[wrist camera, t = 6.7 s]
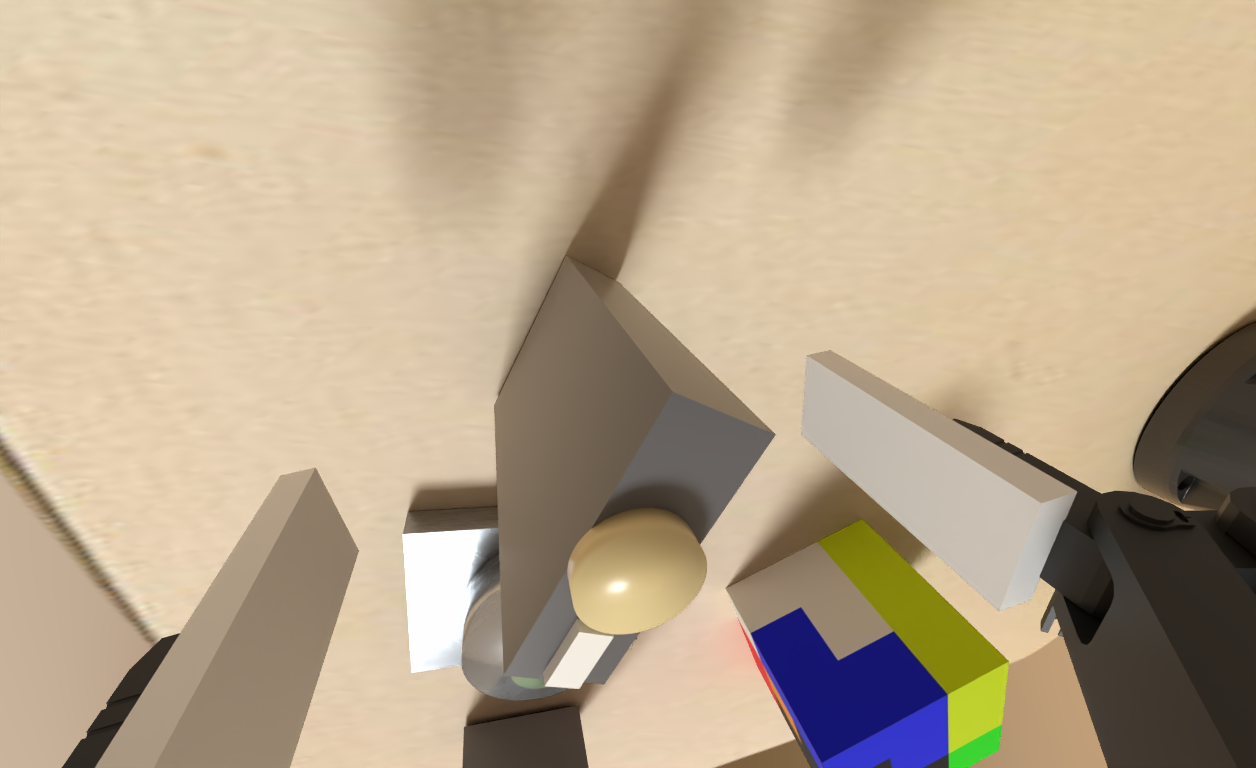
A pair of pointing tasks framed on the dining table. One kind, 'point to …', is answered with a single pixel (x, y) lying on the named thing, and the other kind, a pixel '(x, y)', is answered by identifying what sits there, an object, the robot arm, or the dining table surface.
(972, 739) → the puzzle toy
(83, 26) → the dining table surface
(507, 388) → the dark grey flat block
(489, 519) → the levelling plate
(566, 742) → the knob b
